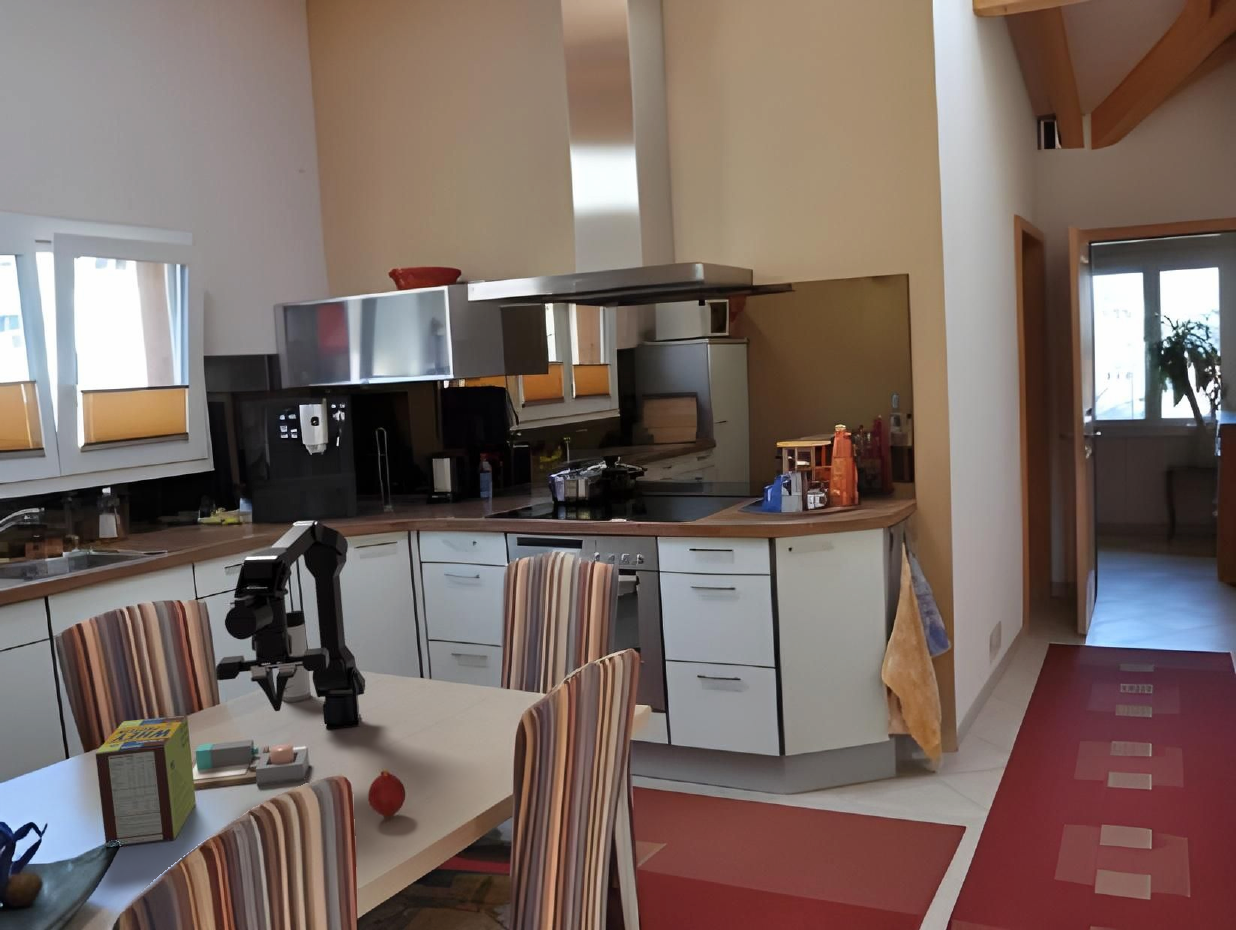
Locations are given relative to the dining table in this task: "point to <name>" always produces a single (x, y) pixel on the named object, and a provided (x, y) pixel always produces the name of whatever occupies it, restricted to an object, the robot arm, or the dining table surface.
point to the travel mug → (300, 682)
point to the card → (299, 748)
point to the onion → (386, 794)
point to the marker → (225, 754)
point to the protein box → (146, 780)
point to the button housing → (282, 769)
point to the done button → (281, 754)
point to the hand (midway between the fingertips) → (277, 710)
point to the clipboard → (227, 773)
